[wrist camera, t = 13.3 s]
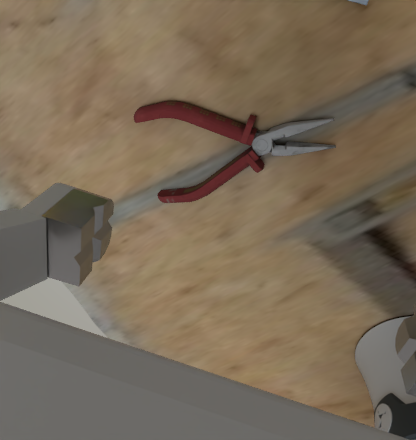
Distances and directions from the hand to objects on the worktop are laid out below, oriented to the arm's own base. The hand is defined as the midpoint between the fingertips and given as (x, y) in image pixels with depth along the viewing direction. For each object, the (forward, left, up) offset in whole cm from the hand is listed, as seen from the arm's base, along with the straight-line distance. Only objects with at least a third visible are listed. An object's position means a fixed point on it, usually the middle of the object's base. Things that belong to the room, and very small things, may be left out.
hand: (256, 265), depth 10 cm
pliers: (+4, +11, -32) cm, 34 cm away
